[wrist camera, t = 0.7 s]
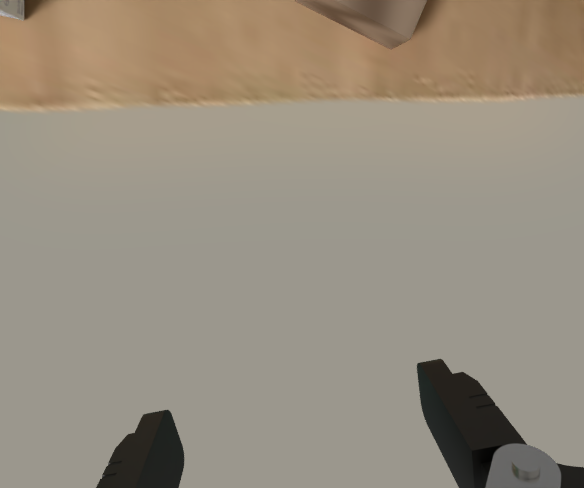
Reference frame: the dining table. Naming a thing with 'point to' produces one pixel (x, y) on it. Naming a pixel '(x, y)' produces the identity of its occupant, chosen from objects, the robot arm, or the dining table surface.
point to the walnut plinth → (373, 17)
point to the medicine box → (12, 8)
